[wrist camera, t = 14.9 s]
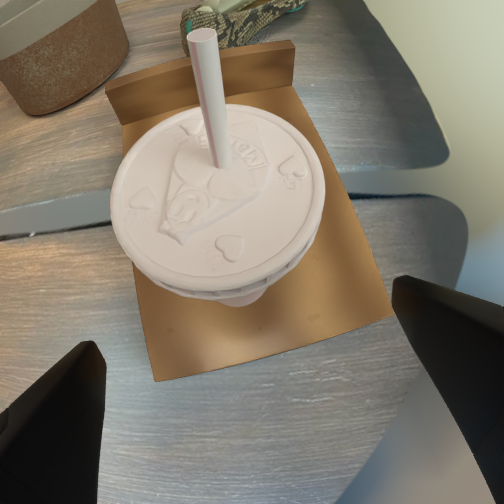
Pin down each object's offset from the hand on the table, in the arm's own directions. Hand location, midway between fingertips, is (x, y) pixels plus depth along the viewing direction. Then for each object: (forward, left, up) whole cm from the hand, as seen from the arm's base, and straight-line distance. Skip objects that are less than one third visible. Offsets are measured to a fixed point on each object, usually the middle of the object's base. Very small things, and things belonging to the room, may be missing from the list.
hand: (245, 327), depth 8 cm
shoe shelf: (-1, -9, -11) cm, 15 cm away
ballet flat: (-10, -35, -12) cm, 38 cm away
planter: (+14, -35, -12) cm, 39 cm away
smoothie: (0, -4, -9) cm, 9 cm away
